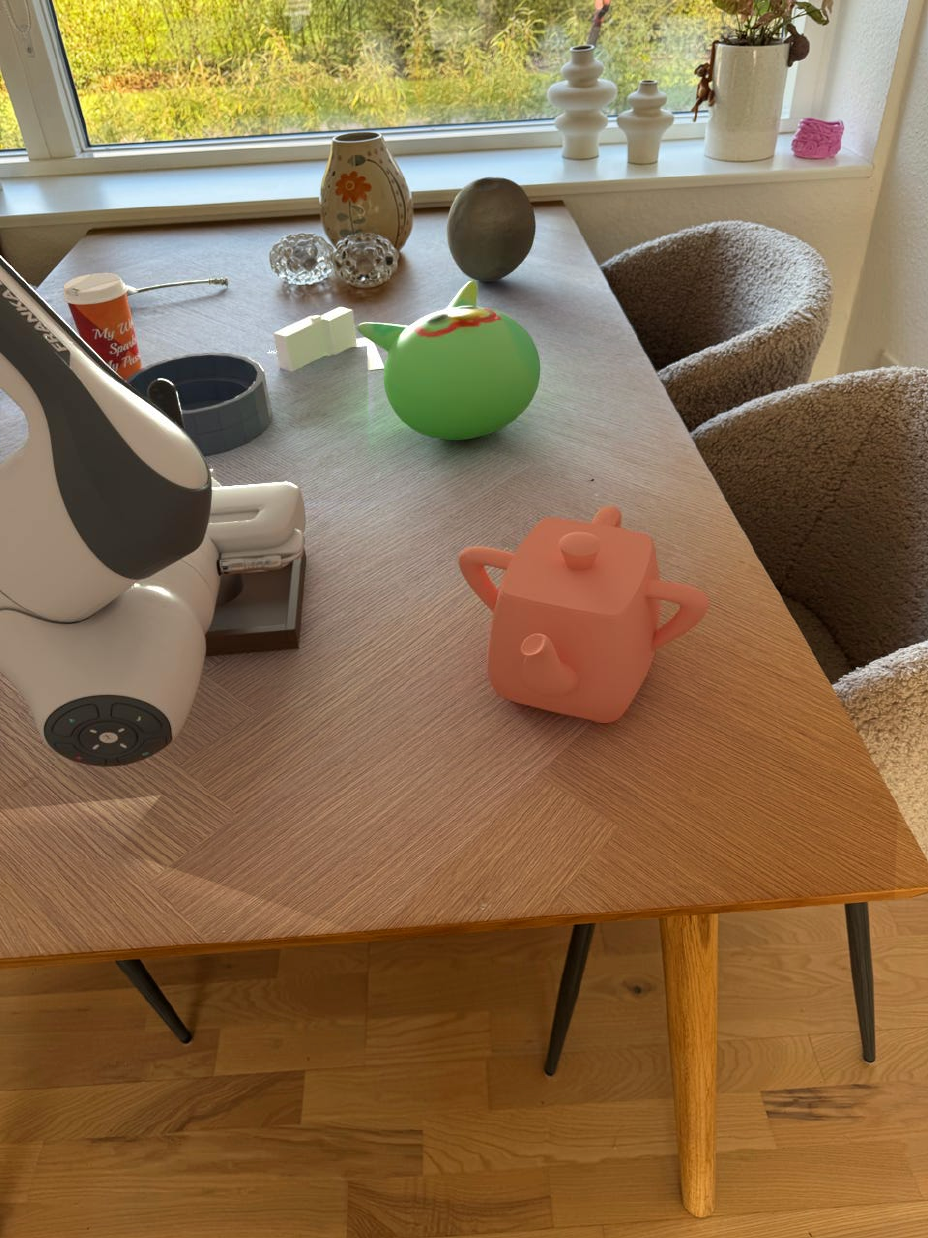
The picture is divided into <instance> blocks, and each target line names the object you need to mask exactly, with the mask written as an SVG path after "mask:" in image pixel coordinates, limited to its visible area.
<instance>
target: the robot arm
mask: <svg viewBox="0 0 928 1238" xmlns="http://www.w3.org/2000/svg"><path fill="white" fill-rule="evenodd" d="M0 389H1V390H2V392H4V393H5V394H6V395H7V396H8V397H9V398H10V399H11V400H12V401H13V402H14V404H16V406H18V407H19V409H20V410H21V411H22V412H23V414H24V415H25V418H26V422H27V426H28V434H27V435H28V436H27V440H26V442H25V444H24V445H23V446H21V447H20V448H19V449H18V450H17V451H15V452H14V453H13V454H12V455H11V456H9V458H7V459H6V460H5V461H4V462H2V463H1V464H0V673H1V674H2V675H3V676H4V677H5V678H6V679H7V680H8V681H9V683H10V684H11V685H12V686H13V687H14V688H15V689H16V691H18V693H19V694H20V695H21V696H22V698H23V699H24V701H25V703H26V704H27V706H28V709H29V711H30V713H31V716H32V718H33V721H34V724H35V727H36V729H37V732H38V734H39V735H40V738H41V739H42V740H43V742H44V743H45V745H47V747H49V749H51V750H52V751H53V752H55V753H56V754H58V755H60V756H62V757H63V758H65V759H66V760H69V761H72V762H75V763H78V764H81V765H85V766H93V767H104V768H105V767H108V768H109V767H122V766H127V765H132V764H135V763H139V762H141V761H143V760H146V759H148V758H151V757H152V756H154V755H156V754H159V752H161V751H162V750H164V749H166V748H167V747H168V746H169V745H170V744H172V742H174V741H175V739H176V738H177V736H178V735H179V733H180V732H181V730H182V728H183V727H184V725H185V723H186V721H187V719H188V717H189V714H190V712H191V709H192V706H193V704H194V702H195V699H196V696H197V693H198V690H199V685H200V681H201V678H202V674H203V669H204V664H205V660H206V656H205V654H206V641H205V634H206V632H207V631H208V629H209V627H210V625H211V622H212V619H213V616H214V611H215V605H216V600H217V595H218V591H219V586H220V581H221V576H222V575H226V574H238V573H250V572H262V571H273V570H278V569H281V568H282V567H284V566H286V565H287V564H289V563H290V562H292V561H294V560H299V559H300V558H301V557H302V555H303V551H304V548H305V545H306V544H305V543H306V538H305V535H304V533H305V529H306V524H307V519H306V509H305V503H304V499H303V493H302V490H301V488H300V487H298V486H297V485H296V484H294V483H292V482H290V481H281V482H267V483H256V484H255V483H254V484H244V485H243V484H242V485H241V484H240V485H231V486H222V484H221V483H219V482H218V479H217V475H216V471H215V469H214V468H210V466H209V464H208V461H207V460H206V458H205V456H203V454H202V453H201V451H200V450H199V448H198V447H197V445H196V444H195V443H194V442H193V440H192V439H191V438H190V437H189V436H188V435H187V434H186V432H185V431H184V430H183V429H182V428H181V427H180V426H179V425H178V424H177V423H175V422H174V421H173V420H172V419H171V418H170V417H169V416H168V415H167V414H165V413H164V412H163V411H162V410H161V409H159V408H158V407H157V406H156V405H155V404H153V403H152V402H151V401H150V400H148V399H147V398H146V397H145V396H143V395H142V394H141V393H140V392H138V391H137V390H136V389H135V388H133V387H132V386H131V385H130V384H128V383H127V382H126V381H125V380H124V379H122V378H121V377H120V376H119V375H118V374H117V373H116V372H115V371H114V370H113V369H111V368H110V367H109V366H108V365H107V364H106V363H105V362H104V361H103V360H102V359H101V358H100V357H99V356H98V355H97V354H96V353H95V352H94V351H93V350H92V348H91V347H90V346H89V345H88V344H87V343H86V342H85V341H84V340H83V339H82V338H81V337H80V335H79V333H77V332H76V331H75V330H74V329H73V328H72V327H71V326H70V324H68V323H67V322H66V321H65V320H64V319H63V318H62V317H61V316H60V315H59V314H58V312H56V311H55V310H54V308H53V307H52V306H50V304H49V303H47V302H46V301H45V300H44V298H43V297H42V296H41V295H39V293H38V292H37V291H36V290H35V289H34V288H33V287H32V286H31V285H30V284H29V283H28V282H27V280H25V279H24V278H23V277H22V276H21V275H20V274H19V273H18V272H17V271H16V270H15V269H14V267H12V265H10V264H9V262H7V261H6V260H5V259H4V258H3V256H2V255H0Z"/></svg>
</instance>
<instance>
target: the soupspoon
mask: <svg viewBox="0 0 928 1238" xmlns="http://www.w3.org/2000/svg"><path fill="white" fill-rule="evenodd" d="M200 284H209V285H212V284H213V285H216V286H218V285H220V286H222V287H223V286H224V285H226V286H227V287H226V286H225V287H226V288H228V287H229V277H228V276H225V279H224V277H221V278H213V279H212V278H208V279H200V280H188V281H180V282H172V283H164V284H163V283H162V284H156V285H151V286H146V287H142V288H135V287H134V286H130V285H126V286H127V287H128V290H127V292H126V294H127V297H129V296H132V295H135V294H141V293H144V292H149V291H153V290H160V289H166V288H173V287H180V286H181V287H182V286H190V285H200Z"/></svg>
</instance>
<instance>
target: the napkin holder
mask: <svg viewBox="0 0 928 1238" xmlns="http://www.w3.org/2000/svg"><path fill="white" fill-rule="evenodd" d="M273 338H274V344H275V349H273V350H274V351H275V350H277V351H276V352H277V353H276V352H274V351H271V352H270V350H268V351H269V352H267V351H266V353H267V354H276V355H277V361H278V367H279V369H282V370H286V371H288V372H291V373H292V372H294V371H297V370H299V369H301V368H302V367H304V366H306V365H309V364H310V363H312V362H314V361H317V360H319V359H320V358H323V357H324V356H326V357H331V356H336V355H339V354H340V353H342V352H344V351H345V350H348V349H350V348H358V347H366V348H367V349H366V351H367V354H366V355H367V371H375V370H381V369H384V366H385V364H384V363H383V360H382V357H381V355H380V353H379V351H378V348H377V346H376V344H375V343H374V342H372V341H370V340H369V339H367V338H366V337H360V338H357V333H356V327H355V316H354V310H353V309H351V308H349V307H344V306H338V307H336V308H334V309H332V310H329V311H327V312H325V313H323V314H321V315H318V314H315V315H309V316H307V317H304V318H302V319H301V320H297V321H296V322H294V323H291V324H290V325H287V326H285V327H283V328H280V329H278V330H277V331H275V332H273ZM272 352H273V353H272Z"/></svg>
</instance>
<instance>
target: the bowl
mask: <svg viewBox="0 0 928 1238" xmlns="http://www.w3.org/2000/svg"><path fill="white" fill-rule="evenodd" d="M157 379H165V380H168V381H170V382H171V383H172V384H173V385H174V386H175V388H176V391H177V395H178V399H179V403H180V408H181V412H182V417H183V421H184V425H185V430H186V434H187V435H188V436H189V437H190V438H191V439H192V440H193V442H194V443H195V444H196V445H197V447H198V448H199V450H200V451H201V453H202V454H203V456H204V457H207V456H211V455H215V454H220V453H225V452H228V451H230V450H234V449H235V448H238V447H241V446H243V445H246V444H248V443H250V442H251V441H252V440H254V439H256V438H257V437H259V436H260V435H262V433H264V431H265V430H266V429H267V428H268V427H269V426H270V425H271V423H272V422H271V421H272V416H273V411H272V405H271V401H270V396H269V390H268V385H267V379H266V374H265V371H264V369H263V368H262V365H261V364H260V363H259V362H257V361H255V360H253V359H251V358H250V357H248V356H244V355H239V354H235V353H229V352H227V353H226V352H201V353H199V352H198V353H191V354H190V353H189V354H185V355H179V356H174V357H170V358H166V359H163V360H160V361H156V362H154V363H150V364H148V365H146V366H145V367H142V369H141V370H139V371H137V372H135V373H133V374H132V375H131V376H130V377H128V378H127V379H126V380H125V381H126V382H127V383H128V384H130V385H131V386H132V387H133V388H135V389H136V390H137V391H138V392H140V393H141V394H142V395H143V396H145V397H146V398H147V399H148V395H147V390H148V387H149V385H150V384H151V382H153V381H154V380H157ZM148 400H149V399H148Z"/></svg>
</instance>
